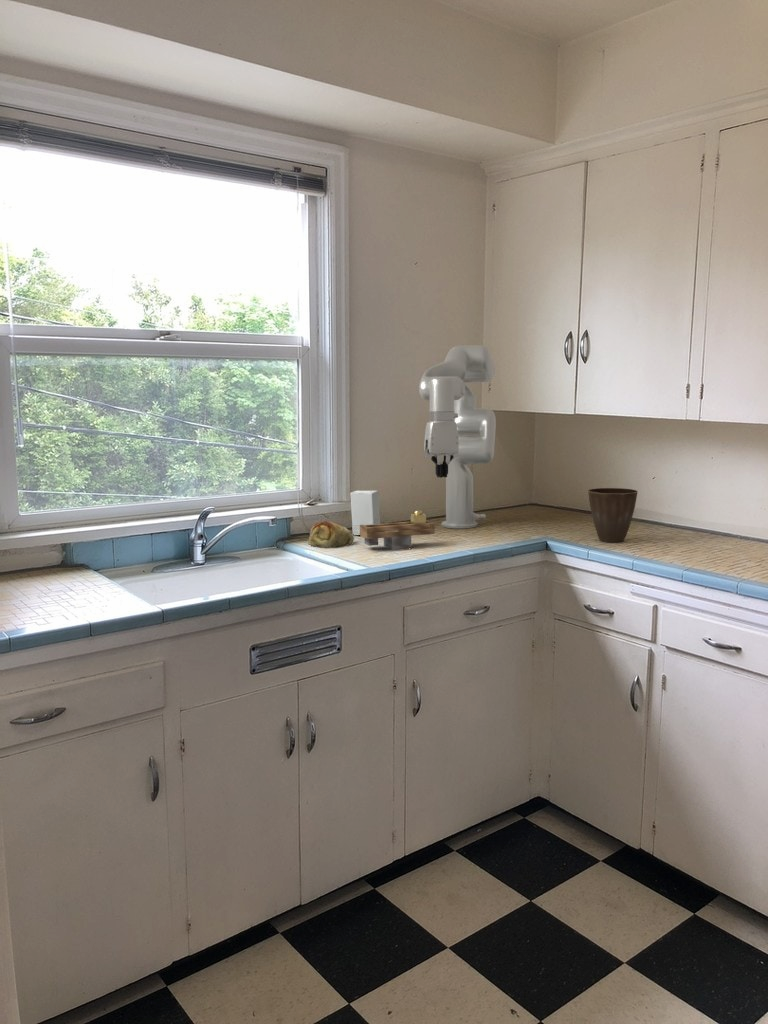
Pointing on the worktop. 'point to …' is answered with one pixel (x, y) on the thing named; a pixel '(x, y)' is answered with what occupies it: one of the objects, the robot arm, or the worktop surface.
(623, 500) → the plant pot
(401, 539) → the beam
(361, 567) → the worktop surface
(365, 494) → the skincare box
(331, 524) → the pastry
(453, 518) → the robot arm
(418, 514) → the perfume bottle
